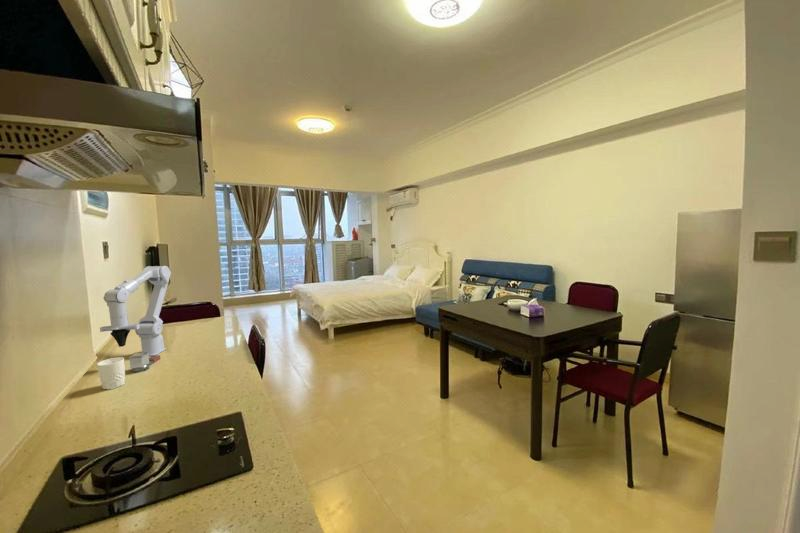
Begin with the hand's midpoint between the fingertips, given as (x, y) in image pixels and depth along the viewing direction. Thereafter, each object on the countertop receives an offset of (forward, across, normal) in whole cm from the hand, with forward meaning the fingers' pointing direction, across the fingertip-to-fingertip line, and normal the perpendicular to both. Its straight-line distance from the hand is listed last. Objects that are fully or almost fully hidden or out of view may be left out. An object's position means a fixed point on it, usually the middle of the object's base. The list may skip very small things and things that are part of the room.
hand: (122, 345), depth 146 cm
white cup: (+10, +9, -21) cm, 25 cm away
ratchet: (+10, +10, -1) cm, 14 cm away
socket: (+8, +10, -6) cm, 14 cm away
